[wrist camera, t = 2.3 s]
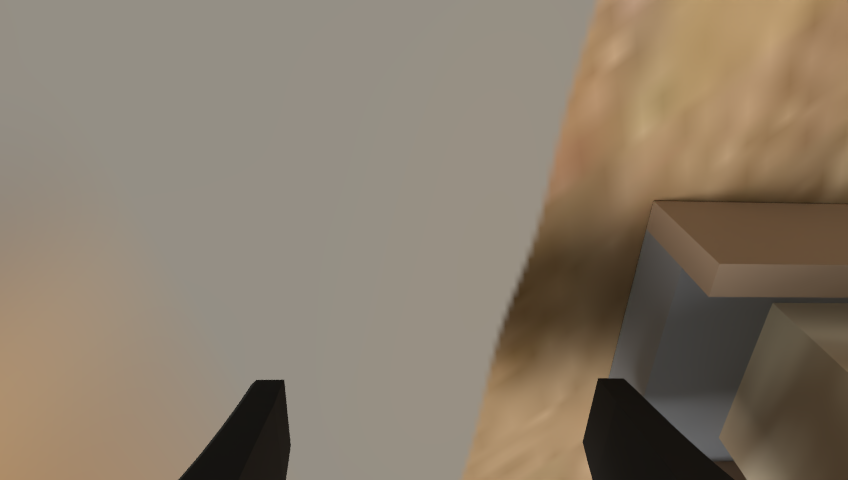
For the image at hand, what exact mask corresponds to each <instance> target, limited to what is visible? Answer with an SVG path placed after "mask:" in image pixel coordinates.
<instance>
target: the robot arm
mask: <svg viewBox="0 0 848 480" xmlns="http://www.w3.org/2000/svg"><path fill="white" fill-rule="evenodd" d="M583 445H584V449H585V453H586V457H587V461H588V465H589V468H590V472H591V475H592V479H593V480H734V479H733V478H732V477H731V476H730V475H728V474H727V473H726V472H725V471H724V470H722V469H721V468H720V467H719V466H718V465H716V464H715V463H714V462H713V461H712V460H711V459H709V458H708V457H707V456H706V455H705V454H704V453H703V452H701V451H700V450H699V449H698V448H697V447H696V446H695V445H694V444H693V443H691V442H690V441H689V440H688V439H687V438H686V437H685V436H684V435H683V434H682V433H681V432H680V431H678V430H677V429H676V428H675V427H674V426H673V425H672V424H671V423H670V422H669V421H668V420H667V419H666V418H665V417H664V416H663V415H662V414H661V413H660V412H658V411H657V410H656V409H655V408H654V407H653V406H652V405H651V404H650V403H649V402H648V401H647V400H646V399H645V398H644V397H643V396H642V395H641V394H640V393H639V392H638V391H637V390H636V389H635V388H634V387H633V386H631V385H630V384H629V383H628V382H627V381H626V380H625V379H624V378H598V381H597V385H596V389H595V394H594V398H593V402H592V406H591V410H590V414H589V418H588V423H587V427H586V431H585V435H584V439H583ZM290 446H291V444H290V434H289V424H288V414H287V404H286V395H285V384H284V380H256V381H255V382H254V383H253V384H252V385H251V386H250V388H249V389H248V391H247V392H246V394H245V395H244V397H243V398H242V400H241V401H240V402H239V404H238V405H237V407H236V408H235V410H234V411H233V412H232V414H231V415H230V416H229V418H228V419H227V421H226V422H225V423H224V425H223V426H222V427H221V429H220V430H219V431H218V432H217V434H216V435H215V436H214V438H213V439H212V440H211V441H210V443H209V444H208V445H207V447H206V448H205V449H204V450H203V452H202V453H201V454H200V455H199V457H198V458H197V459H196V460H195V461H194V462H193V464H192V465H191V466H190V467H189V468H188V469H187V471H186V472H185V473H184V474H183V475H182V476H181V477H180V479H179V480H286V475H287V468H288V461H289V453H290Z"/></svg>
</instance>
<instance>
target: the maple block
mask: <svg viewBox="0 0 848 480" xmlns="http://www.w3.org/2000/svg"><path fill="white" fill-rule="evenodd" d="M719 439H720V440H721V442H722V443H723V445H724V446H725V448H726V449H727V451H728V452H729V454H730V455H731V457H732V458H733V460H734V461H735V463H736V464H737V466H738V467H739V469H740V470H741V472H742V473H743V475H744V476H745V478H746V479H747V480H848V303H772V305H771V308H770V310H769V313H768V315H767V318H766V320H765V323H764V326H763V328H762V331H761V333H760V336H759V338H758V341H757V343H756V346H755V348H754V351H753V353H752V356H751V358H750V361H749V363H748V366H747V368H746V371H745V373H744V376H743V378H742V381H741V383H740V386H739V388H738V391H737V393H736V396H735V398H734V401H733V403H732V406H731V408H730V411H729V413H728V416H727V418H726V421H725V423H724V426H723V428H722V431H721V433H720V436H719Z"/></svg>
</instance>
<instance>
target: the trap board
mask: <svg viewBox="0 0 848 480" xmlns="http://www.w3.org/2000/svg"><path fill="white" fill-rule="evenodd" d="M772 303H848V204H806V203H748V202H689V201H653V205H652V209H651V213H650V217H649V221H648V225H647V229H646V233H645V237H644V241H643V245H642V248H641V252H640V256H639V260H638V264H637V268H636V272H635V276H634V280H633V284H632V288H631V292H630V296H629V300H628V304H627V308H626V312H625V315H624V319H623V323H622V327H621V331H620V335H619V339H618V343H617V347H616V351H615V355H614V359H613V363H612V367H611V371H610V375H609V378H624V379H625V380H626V381H627V382H628V383H629V384H630V385H631V386H633V387H634V388H635V389H636V390H637V391H638V392H639V393H640V394H641V395H642V396H643V397H644V398H645V399H646V400H647V401H648V402H649V403H650V404H651V405H652V406H653V407H654V408H655V409H656V410H657V411H658V412H660V413H661V414H662V415H663V416H664V417H665V418H666V419H667V420H668V421H669V422H670V423H671V424H672V425H673V426H674V427H675V428H676V429H677V430H678V431H680V432H681V433H682V434H683V435H684V436H685V437H686V438H687V439H688V440H689V441H690V442H691V443H693V444H694V445H695V446H696V447H697V448H698V449H699V450H700V451H701V452H703V453H704V454H705V455H706V456H707V457H708V458H709V459H711V460H712V461H713V462H714V463H715V464H716V465H718V466H719V467H720V468H721V469H722V470H724V471H725V472H726V473H727V474H728V475H730V476H731V477H732V478H733V479H734V480H747V479H746V478H745V476H744V475H743V473H742V472H741V470H740V469H739V467H738V466H737V464H736V463H735V461H734V460H733V458H732V457H731V455H730V454H729V452H728V451H727V449H726V448H725V446H724V445H723V443H722V442H721V440H720V439H719V436H720V433H721V431H722V428H723V426H724V423H725V421H726V418H727V416H728V413H729V411H730V408H731V406H732V403H733V401H734V398H735V396H736V393H737V391H738V388H739V386H740V383H741V381H742V378H743V376H744V373H745V371H746V368H747V366H748V363H749V361H750V358H751V356H752V353H753V351H754V348H755V346H756V343H757V341H758V338H759V336H760V333H761V331H762V328H763V326H764V323H765V320H766V318H767V315H768V313H769V310H770V308H771V305H772Z"/></svg>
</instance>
